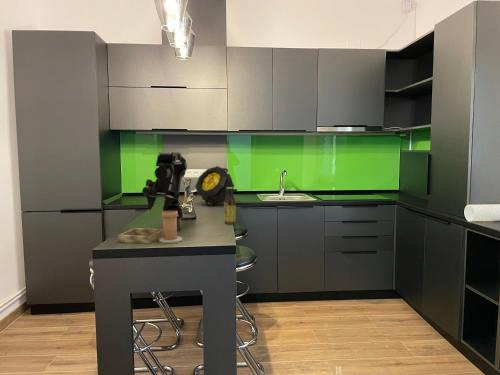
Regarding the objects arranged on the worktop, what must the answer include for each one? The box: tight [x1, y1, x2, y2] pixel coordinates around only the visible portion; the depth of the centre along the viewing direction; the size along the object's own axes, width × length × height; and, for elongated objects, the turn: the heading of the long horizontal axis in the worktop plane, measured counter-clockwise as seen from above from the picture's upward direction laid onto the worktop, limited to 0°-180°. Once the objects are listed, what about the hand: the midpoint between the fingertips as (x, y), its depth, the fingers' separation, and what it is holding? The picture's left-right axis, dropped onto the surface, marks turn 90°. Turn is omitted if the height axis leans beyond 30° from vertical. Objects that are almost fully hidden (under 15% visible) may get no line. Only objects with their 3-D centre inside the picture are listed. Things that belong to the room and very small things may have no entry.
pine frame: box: [117, 227, 163, 244], centre depth 161 cm, size 15×15×3 cm
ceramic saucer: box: [158, 235, 183, 244], centre depth 158 cm, size 10×10×1 cm
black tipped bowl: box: [195, 165, 238, 207], centre depth 270 cm, size 28×28×24 cm
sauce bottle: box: [223, 187, 237, 225], centre depth 196 cm, size 6×6×20 cm
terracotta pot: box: [161, 210, 178, 240], centre depth 158 cm, size 7×7×12 cm
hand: (156, 210), depth 169 cm, fingers open, 9 cm apart
